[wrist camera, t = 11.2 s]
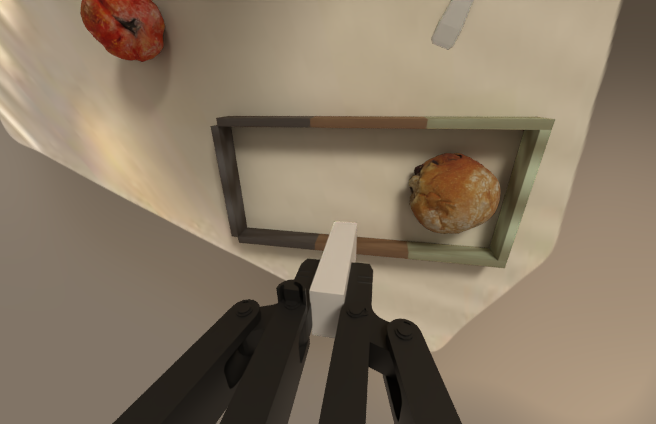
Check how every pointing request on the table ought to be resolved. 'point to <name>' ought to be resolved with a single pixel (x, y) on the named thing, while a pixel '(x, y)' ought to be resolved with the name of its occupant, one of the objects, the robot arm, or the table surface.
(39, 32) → the table surface
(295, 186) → the table surface
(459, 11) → the fork
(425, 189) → the bread roll
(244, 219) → the multicolored rectangular frame
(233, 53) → the table surface
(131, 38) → the pomegranate
